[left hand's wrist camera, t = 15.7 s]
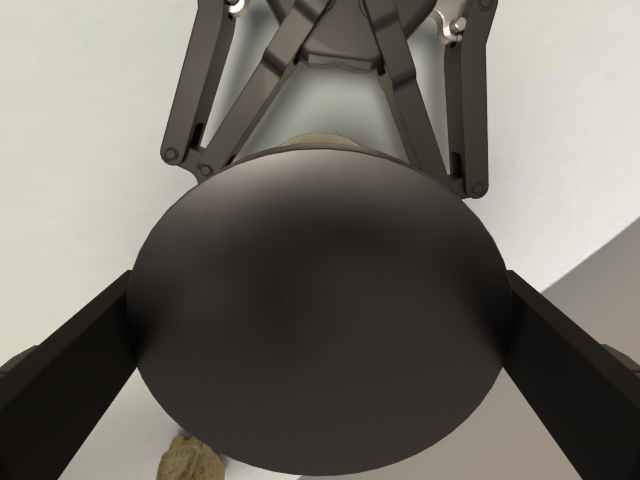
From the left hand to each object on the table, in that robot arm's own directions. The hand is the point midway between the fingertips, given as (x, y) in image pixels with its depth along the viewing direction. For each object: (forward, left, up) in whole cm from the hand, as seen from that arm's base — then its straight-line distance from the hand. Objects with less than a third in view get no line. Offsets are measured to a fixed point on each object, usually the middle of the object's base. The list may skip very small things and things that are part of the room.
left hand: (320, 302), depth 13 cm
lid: (0, 0, +2) cm, 2 cm away
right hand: (-3, -3, -8) cm, 9 cm away
